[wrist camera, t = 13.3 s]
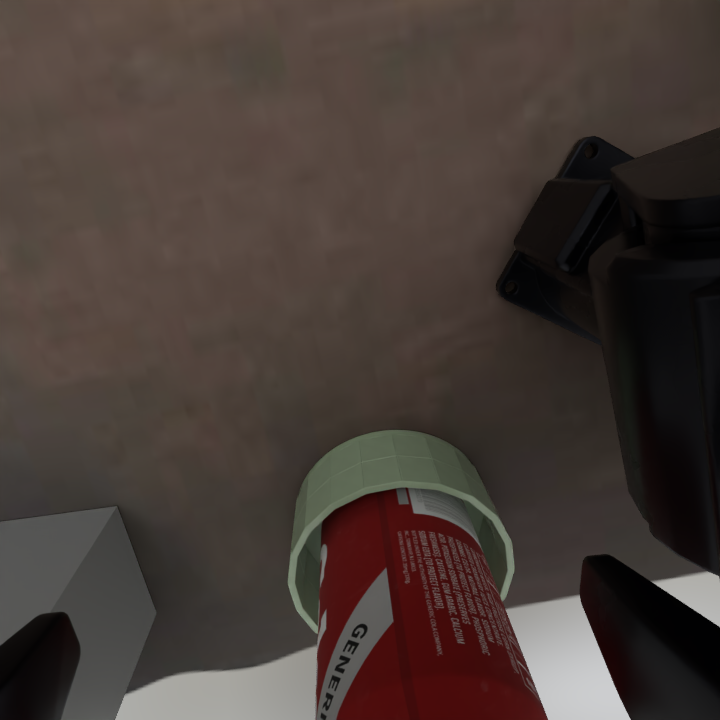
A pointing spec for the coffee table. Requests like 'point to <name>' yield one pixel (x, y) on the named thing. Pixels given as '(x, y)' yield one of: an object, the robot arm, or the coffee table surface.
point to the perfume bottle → (80, 598)
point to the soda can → (414, 617)
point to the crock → (379, 473)
